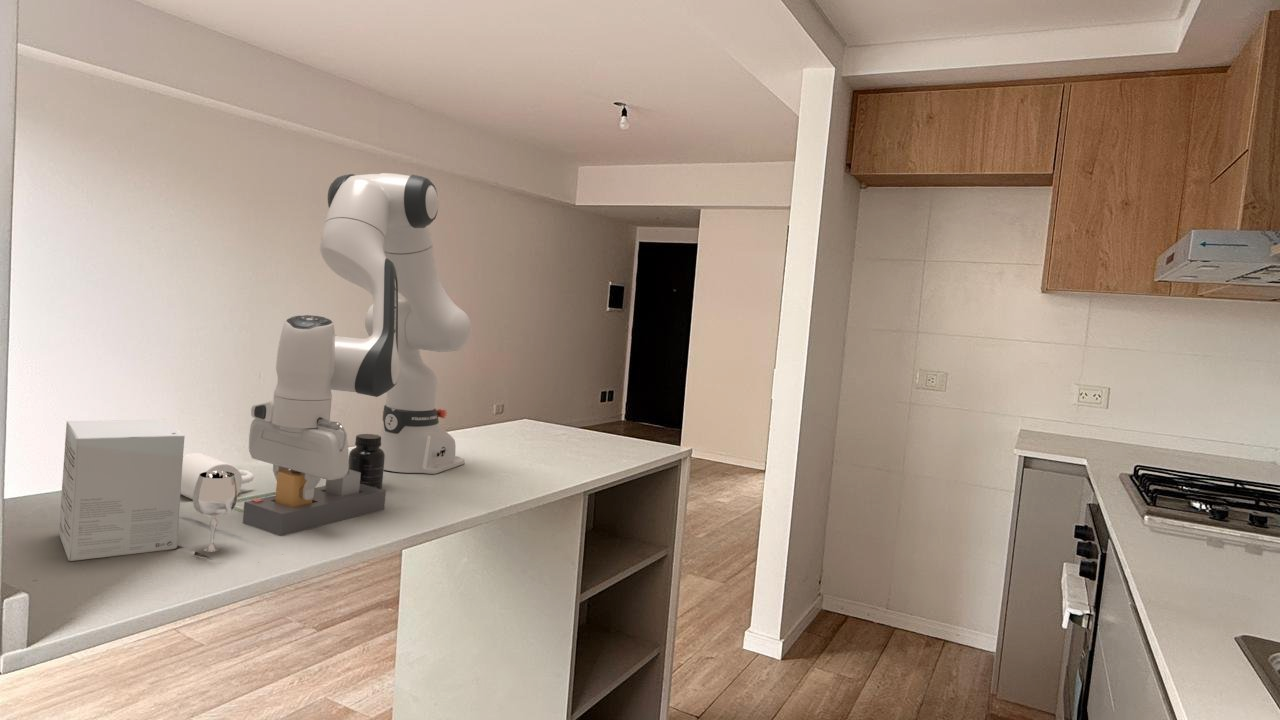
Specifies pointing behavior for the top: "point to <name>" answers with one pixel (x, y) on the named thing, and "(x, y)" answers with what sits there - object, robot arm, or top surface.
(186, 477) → the mug
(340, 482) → the gray knobbed block
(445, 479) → the top surface
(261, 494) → the tray
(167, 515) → the supplement box
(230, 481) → the wineglass
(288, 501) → the plug
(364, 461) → the supplement bottle
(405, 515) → the top surface
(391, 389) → the robot arm
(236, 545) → the top surface
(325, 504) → the strip
